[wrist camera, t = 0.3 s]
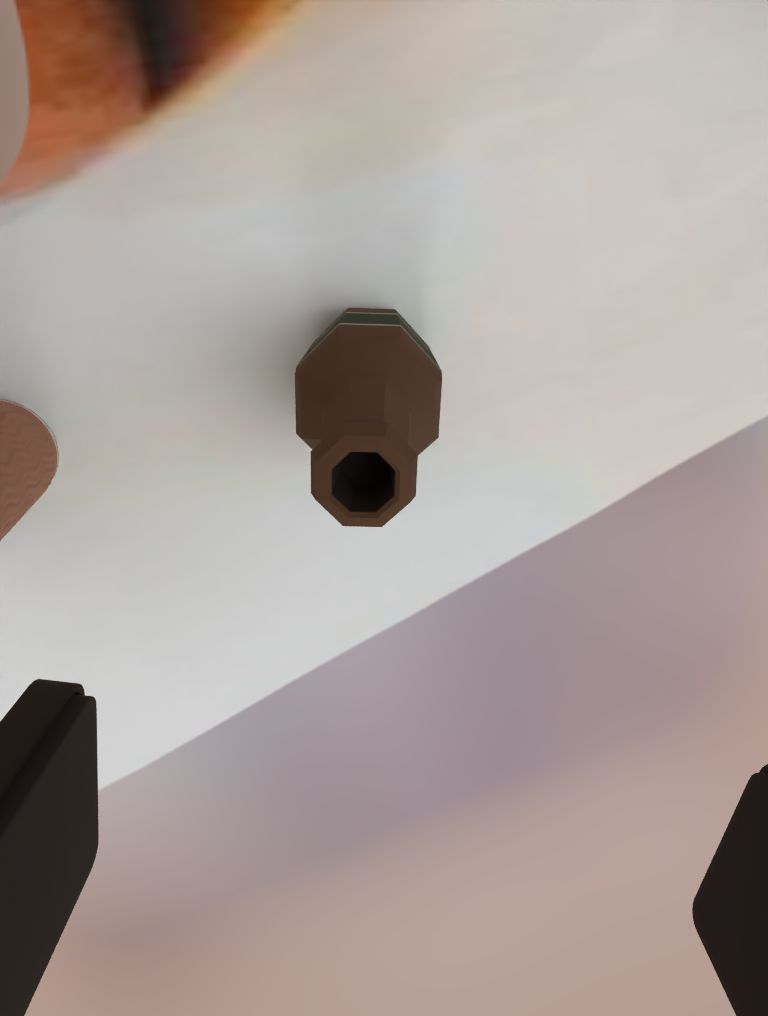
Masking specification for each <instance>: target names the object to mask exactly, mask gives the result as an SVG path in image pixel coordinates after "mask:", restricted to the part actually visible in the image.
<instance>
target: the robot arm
mask: <svg viewBox="0 0 768 1016" xmlns="http://www.w3.org/2000/svg"><path fill="white" fill-rule="evenodd" d="M97 848H98V778H97V713H96V700H95V698H94V697H92V696H85V695H84V689H83V686H82V685H81V684H77V683H68V682H60V681H51V680H42V679H38V680H35V681H33V682H32V683H31V684H30V685H29V686H28V688H27V689H26V690H25V692H24V693H23V694H22V695H21V697H20V698H19V699H18V700H17V702H16V703H15V704H14V705H13V707H12V708H11V709H10V710H9V712H8V713H7V714H6V715H5V717H4V718H3V719H2V720H1V722H0V1016H24V1015H25V1013H26V1010H27V1008H28V1006H29V1004H30V1002H31V999H32V997H33V995H34V993H35V991H36V989H37V987H38V984H39V982H40V980H41V978H42V976H43V973H44V971H45V969H46V967H47V965H48V963H49V960H50V958H51V956H52V954H53V952H54V949H55V947H56V945H57V943H58V941H59V939H60V937H61V934H62V932H63V930H64V928H65V926H66V923H67V921H68V919H69V917H70V915H71V913H72V910H73V908H74V906H75V904H76V902H77V900H78V897H79V895H80V893H81V891H82V889H83V887H84V884H85V882H86V880H87V878H88V876H89V874H90V871H91V869H92V866H93V863H94V860H95V857H96V853H97ZM692 910H693V920H694V924H695V927H696V929H697V932H698V934H699V937H700V939H701V941H702V943H703V945H704V947H705V949H706V951H707V954H708V956H709V958H710V960H711V962H712V964H713V966H714V969H715V971H716V973H717V975H718V977H719V979H720V982H721V984H722V986H723V988H724V990H725V992H726V994H727V997H728V998H729V1001H730V1003H731V1005H732V1007H733V1009H734V1012H735V1014H736V1016H768V764H767V765H766V766H764V767H762V769H761V770H760V772H759V773H755V774H753V775H752V776H751V778H750V779H749V781H748V783H747V785H746V788H745V790H744V792H743V794H742V796H741V798H740V801H739V803H738V805H737V807H736V809H735V811H734V814H733V816H732V818H731V820H730V822H729V824H728V827H727V829H726V831H725V833H724V836H723V837H722V840H721V842H720V844H719V846H718V848H717V851H716V853H715V855H714V857H713V859H712V861H711V864H710V866H709V868H708V870H707V873H706V875H705V877H704V879H703V881H702V883H701V885H700V888H699V890H698V892H697V894H696V897H695V899H694V902H693V909H692Z"/></svg>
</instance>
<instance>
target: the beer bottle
mask: <svg viewBox="0 0 768 1016" xmlns="http://www.w3.org/2000/svg"><path fill="white" fill-rule="evenodd" d="M441 386H442V373H441V369H440V367H439V366H438V364H437V362H436V360H435V358H434V356H433V354H432V352H431V350H430V348H429V346H428V345H427V344H426V343H425V342H424V341H423V340H422V339H421V338H420V336H419V335H418V334H417V333H416V332H415V331H414V330H413V329H412V328H411V326H410V325H409V324H408V323H407V322H406V321H405V320H404V319H403V317H402V316H401V315H400V314H399V313H398V312H397V311H396V310H395V309H366V308H348V309H347V310H346V311H345V312H344V313H343V314H342V315H341V316H340V317H339V318H338V319H337V320H336V321H335V322H334V323H333V324H332V325H331V326H330V327H329V328H328V329H327V330H326V331H325V332H324V333H323V334H322V335H321V336H320V337H319V338H318V339H317V340H316V341H315V342H314V343H313V344H312V345H311V347H310V348H309V350H308V351H307V352H306V354H305V355H304V357H303V358H302V360H301V361H300V363H299V364H298V365H297V368H296V372H295V398H296V434H297V435H298V436H299V437H300V438H301V439H302V440H303V441H304V442H305V443H306V444H307V445H308V446H309V447H310V448H312V449H313V450H312V451H311V494H312V495H313V497H314V498H315V500H316V501H317V502H319V503H320V504H321V505H322V506H323V507H324V508H325V509H326V510H327V511H328V512H329V513H330V514H331V515H332V516H333V517H334V518H335V519H336V520H337V521H338V522H340V523H341V524H342V525H343V526H365V527H382V526H383V525H385V524H386V523H387V522H388V521H389V520H390V519H391V518H393V517H394V516H395V515H396V514H397V513H398V512H399V511H401V510H402V509H403V508H404V507H405V506H406V505H408V504H409V503H410V502H411V501H412V499H413V498H414V497H415V496H416V477H417V458H418V455H419V454H420V453H421V452H422V451H424V450H425V449H426V448H427V447H428V446H429V445H430V444H431V443H433V442H434V441H435V440H436V439H437V438H438V434H439V418H440V402H441Z"/></svg>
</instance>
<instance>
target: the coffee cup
mask: <svg viewBox="0 0 768 1016" xmlns="http://www.w3.org/2000/svg"><path fill="white" fill-rule="evenodd" d="M58 458H59V454H58V448H57V444H56V441H55V439H54V436H53V434H52V433H51V431H50V429H49V428H48V426H47V425H46V424H45V423H44V422H43V421H42V419H41V418H39V417H38V416H37V415H36V414H35V413H33V412H32V411H30V410H29V409H27V408H25V407H24V406H21V405H19V404H16V403H13V402H9V401H4V400H0V541H1V539H2V538H3V537H4V536H5V535H6V534H7V533H8V532H9V531H10V530H11V529H12V527H13V526H14V525H15V524H16V523H17V522H18V521H19V520H20V519H21V517H22V516H23V515H24V514H25V513H26V512H27V511H28V510H29V509H30V507H31V506H32V505H33V504H34V503H35V502H36V501H37V500H38V499H39V497H40V496H41V495H42V494H43V493H44V492H45V491H46V490H47V488H48V486H49V485H50V483H51V481H52V479H53V477H54V475H55V473H56V471H57V467H58Z"/></svg>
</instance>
